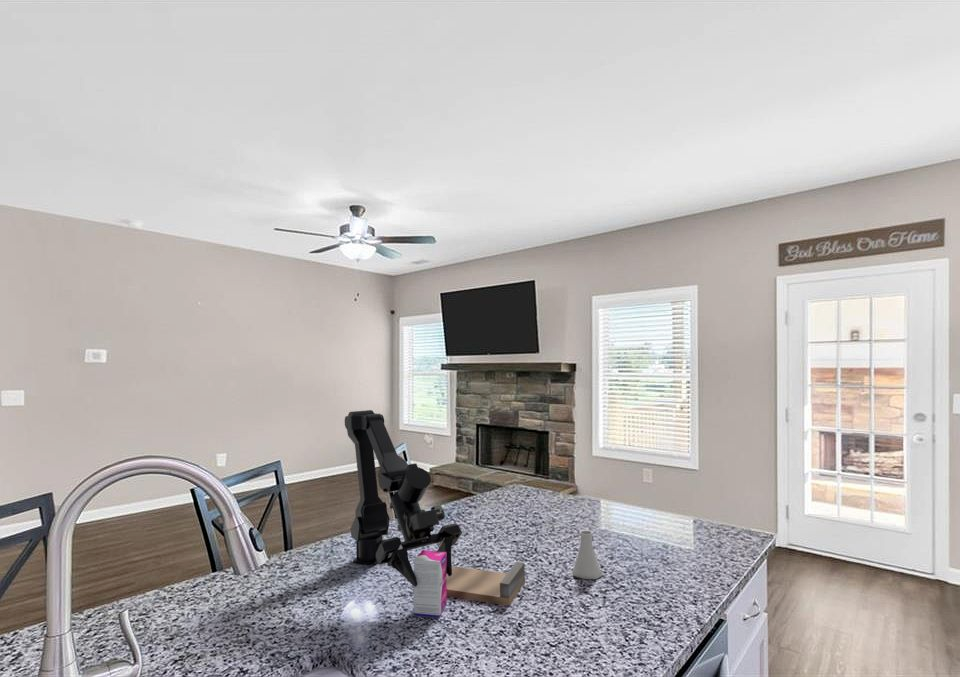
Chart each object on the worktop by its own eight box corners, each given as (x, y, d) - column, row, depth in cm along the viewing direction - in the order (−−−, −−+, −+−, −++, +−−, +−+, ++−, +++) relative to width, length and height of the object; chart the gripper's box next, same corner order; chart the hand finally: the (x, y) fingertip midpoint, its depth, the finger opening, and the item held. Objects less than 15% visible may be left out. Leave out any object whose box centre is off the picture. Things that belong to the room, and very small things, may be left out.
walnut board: (424, 592, 117) (424, 572, 117) (447, 571, 128) (446, 553, 128) (509, 605, 110) (508, 584, 110) (525, 582, 121) (524, 562, 121)
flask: (605, 570, 126) (604, 529, 127) (599, 582, 120) (597, 538, 120) (576, 566, 129) (575, 525, 130) (568, 577, 123) (567, 535, 123)
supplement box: (440, 618, 105) (439, 561, 105) (412, 616, 106) (411, 559, 107) (448, 605, 111) (446, 550, 111) (421, 603, 112) (420, 549, 112)
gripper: (379, 501, 107) (403, 573, 98) (456, 487, 118) (485, 550, 108) (366, 530, 114) (387, 600, 104) (440, 514, 124) (466, 576, 114)
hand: (433, 580), depth 108 cm, fingers closed on supplement box, 8 cm apart
